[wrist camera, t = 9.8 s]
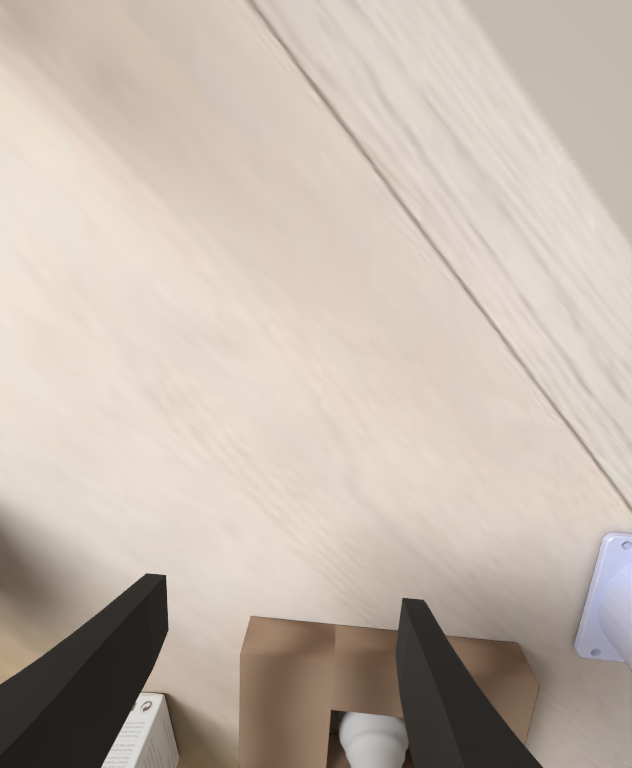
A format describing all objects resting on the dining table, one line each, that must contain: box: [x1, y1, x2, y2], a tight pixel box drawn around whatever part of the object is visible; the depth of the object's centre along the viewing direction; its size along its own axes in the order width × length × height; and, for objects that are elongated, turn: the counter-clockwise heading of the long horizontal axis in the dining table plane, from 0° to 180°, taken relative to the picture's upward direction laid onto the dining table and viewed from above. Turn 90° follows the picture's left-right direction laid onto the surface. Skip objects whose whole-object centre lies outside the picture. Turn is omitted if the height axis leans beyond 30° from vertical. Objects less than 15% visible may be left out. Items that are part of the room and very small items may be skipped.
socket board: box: [239, 616, 539, 768], centre depth 23 cm, size 16×12×2 cm
